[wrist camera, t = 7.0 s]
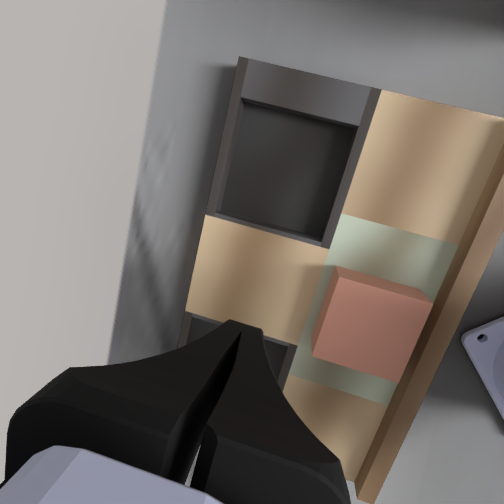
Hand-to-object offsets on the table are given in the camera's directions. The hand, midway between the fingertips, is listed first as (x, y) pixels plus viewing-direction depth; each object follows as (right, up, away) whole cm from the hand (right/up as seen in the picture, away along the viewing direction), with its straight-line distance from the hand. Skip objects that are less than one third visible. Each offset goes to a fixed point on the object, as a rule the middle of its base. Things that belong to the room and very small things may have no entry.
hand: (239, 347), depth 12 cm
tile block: (+7, 0, +6) cm, 9 cm away
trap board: (+4, +1, +8) cm, 9 cm away
